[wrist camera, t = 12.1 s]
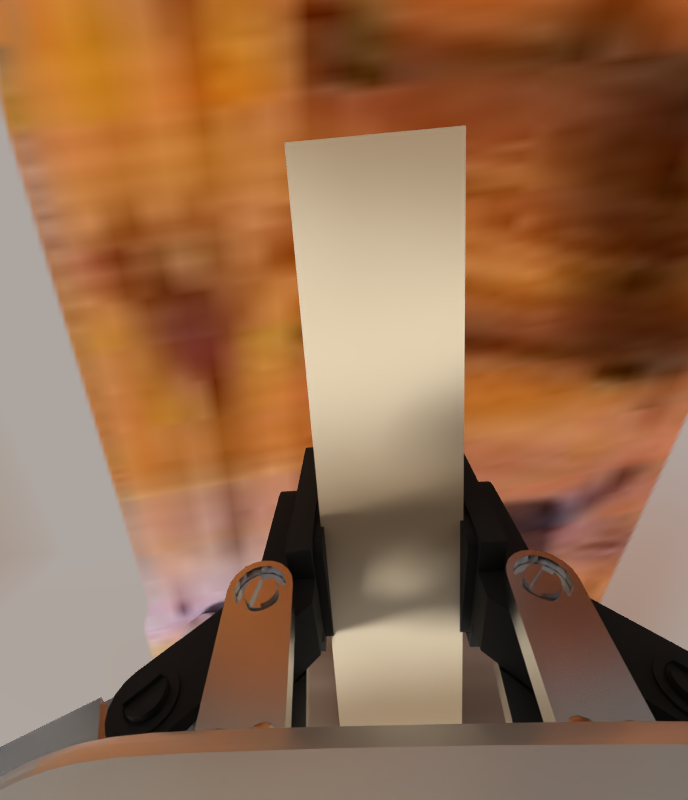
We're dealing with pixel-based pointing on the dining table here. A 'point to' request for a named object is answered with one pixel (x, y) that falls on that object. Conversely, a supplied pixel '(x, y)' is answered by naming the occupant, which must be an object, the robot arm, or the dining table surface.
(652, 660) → the robot arm
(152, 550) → the dining table surface
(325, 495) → the cream upright plaque
